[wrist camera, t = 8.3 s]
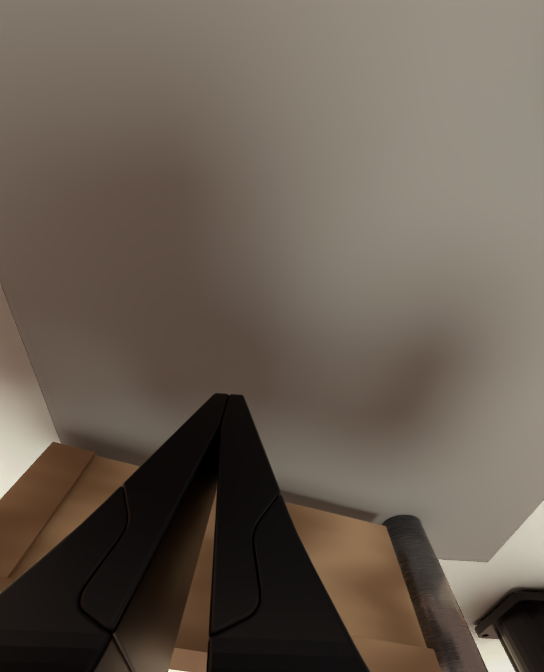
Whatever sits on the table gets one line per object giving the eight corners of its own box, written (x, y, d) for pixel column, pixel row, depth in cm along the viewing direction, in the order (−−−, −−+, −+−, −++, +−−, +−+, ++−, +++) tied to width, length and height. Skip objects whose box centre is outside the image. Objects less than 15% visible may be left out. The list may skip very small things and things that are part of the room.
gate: (389, 522, 13) (450, 698, 8) (370, 541, 14) (416, 711, 9) (53, 440, 10) (-113, 619, 6) (52, 468, 11) (-93, 646, 7)
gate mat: (482, 553, 16) (487, 562, 15) (101, 530, 15) (97, 538, 15) (1079, -137, 5) (1142, -163, 4) (-207, -335, 4) (-253, -387, 4)
